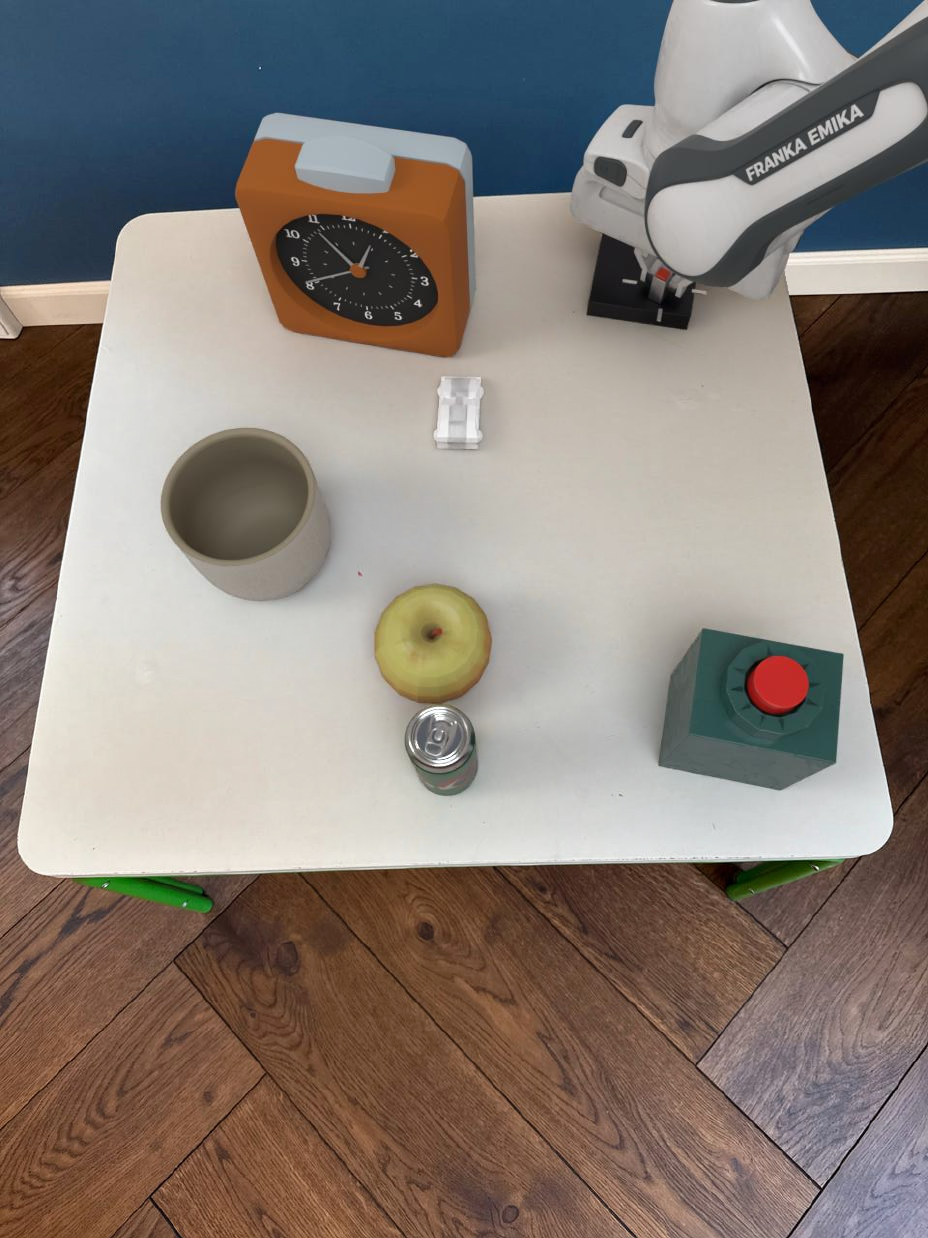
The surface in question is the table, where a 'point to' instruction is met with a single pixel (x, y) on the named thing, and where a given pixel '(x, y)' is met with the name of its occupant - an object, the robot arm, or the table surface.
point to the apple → (432, 643)
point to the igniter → (749, 714)
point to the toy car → (459, 413)
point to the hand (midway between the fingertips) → (663, 284)
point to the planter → (247, 513)
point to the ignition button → (777, 684)
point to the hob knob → (660, 284)
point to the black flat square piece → (633, 290)
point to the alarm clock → (362, 231)
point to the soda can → (442, 749)
